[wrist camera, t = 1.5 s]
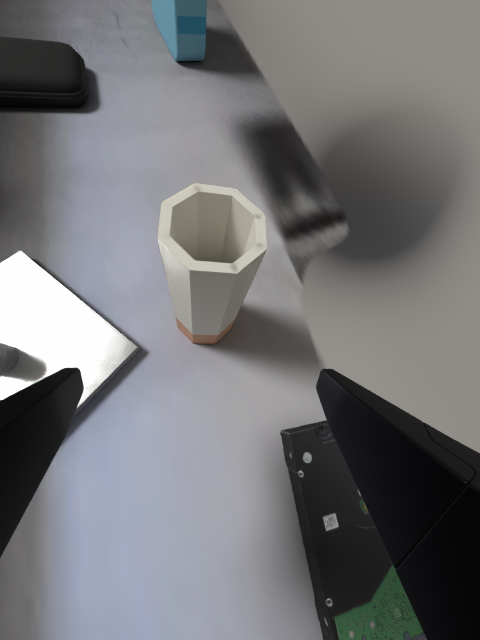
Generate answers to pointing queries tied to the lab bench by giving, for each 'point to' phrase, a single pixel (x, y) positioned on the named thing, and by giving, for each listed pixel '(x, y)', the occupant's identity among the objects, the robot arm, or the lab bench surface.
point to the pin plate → (52, 332)
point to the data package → (182, 27)
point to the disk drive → (343, 545)
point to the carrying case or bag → (41, 74)
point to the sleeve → (209, 256)
